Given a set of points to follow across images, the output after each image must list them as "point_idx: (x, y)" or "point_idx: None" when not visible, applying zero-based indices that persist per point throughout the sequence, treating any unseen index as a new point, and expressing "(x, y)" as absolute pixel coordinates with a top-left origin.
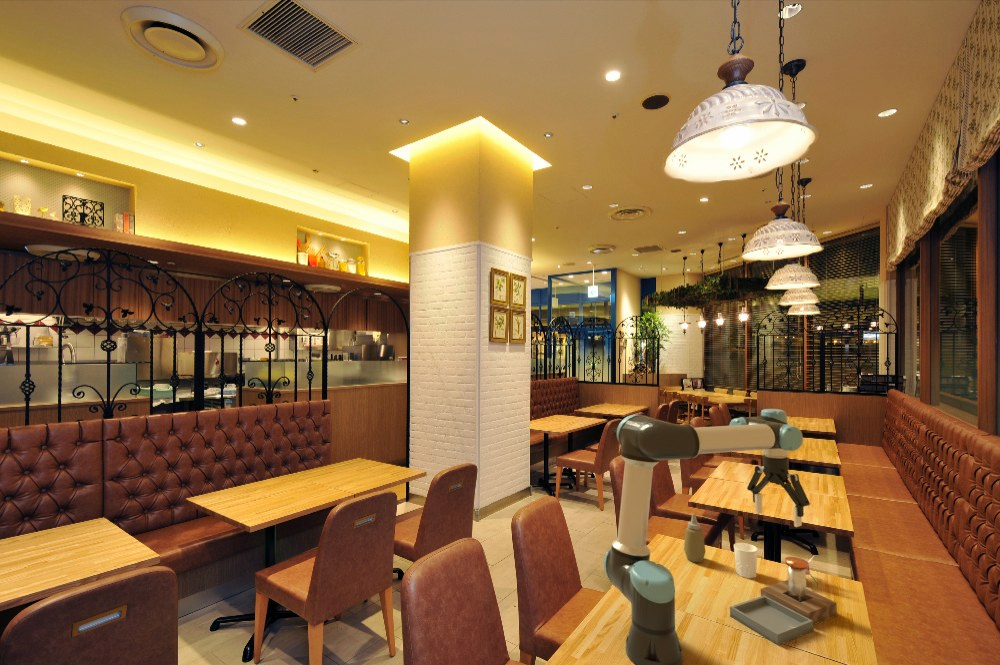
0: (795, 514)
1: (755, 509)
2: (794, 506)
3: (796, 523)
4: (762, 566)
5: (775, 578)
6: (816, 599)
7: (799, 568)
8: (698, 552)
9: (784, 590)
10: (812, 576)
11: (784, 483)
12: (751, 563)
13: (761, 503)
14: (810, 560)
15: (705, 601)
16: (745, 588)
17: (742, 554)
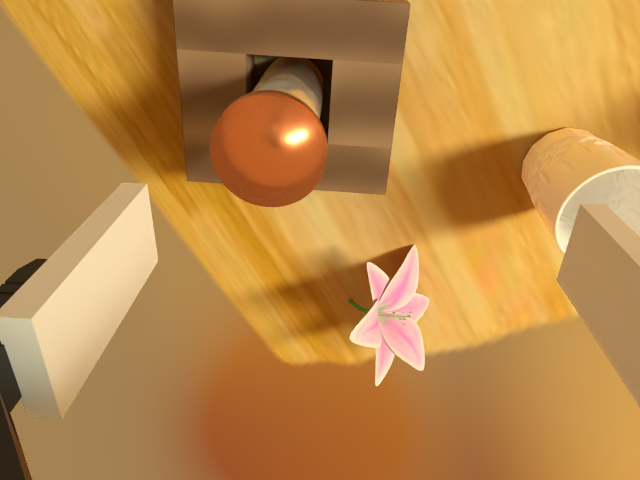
0: (64, 248)
1: (622, 224)
2: (15, 316)
3: (106, 199)
4: (542, 274)
5: (463, 228)
6: None
7: (227, 107)
8: None
9: (340, 92)
10: (364, 311)
11: None
12: (547, 173)
13: (602, 335)
14: (356, 335)
15: None
16: (502, 41)
17: (600, 161)
